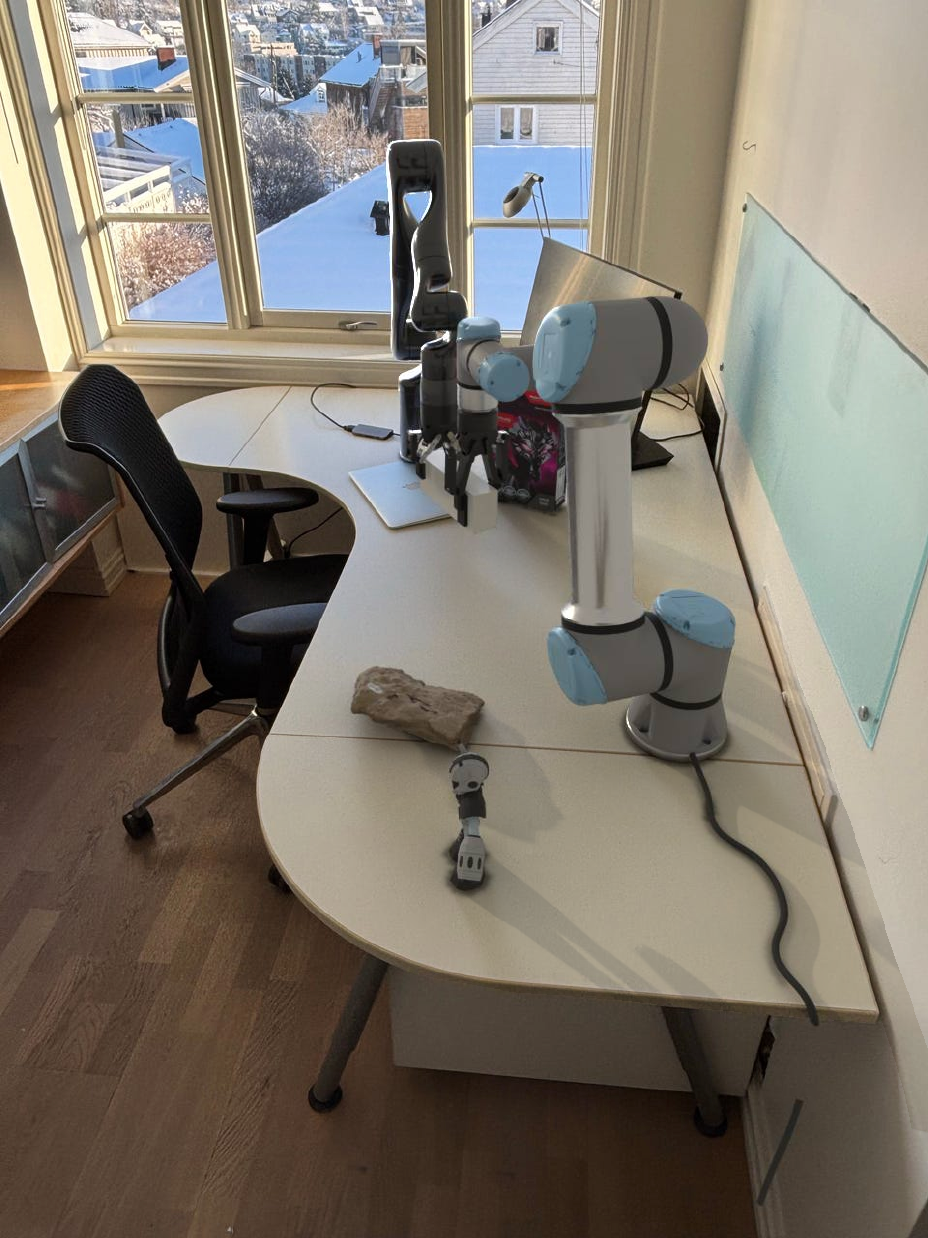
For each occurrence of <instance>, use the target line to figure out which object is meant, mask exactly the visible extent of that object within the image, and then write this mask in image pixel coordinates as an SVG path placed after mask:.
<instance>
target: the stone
mask: <svg viewBox="0 0 928 1238" xmlns="http://www.w3.org/2000/svg"><path fill="white" fill-rule="evenodd" d="M353 688H354V693H353V695H352V701H351V703H350V708H349V709H350V710H349V711H350V713H351V714H353V715H357V714H358V715H364V716H367V717H369V719H371V721H372V722H373V723H375V724H379V725H386V726H387V728H391V729H393V730H400V731H403V732H405V733H407V734H409V735H413V736H416V737H419V738H422V739H423V740H425V741H426V742H429V743H432V744H439V745H443V746H446V747H447V748H449V749H450V750H452V751H455V752H461V751H460V748H459V746H458V743H457V740H458V739H460V740H461V742H462V744H463V745H464V747H465V748H466V747H467V745H468V742H469V741H470V738H471V736H472V729H473V727H474V725H475V723H476V721H477V719H478V716H479V715H480V713H481V709H482V708H483V707H484V706H485V704H486V702H485V700H483V699H482V697H479V696H478V695H476V694H474V693H472V692H469V691H465V690H462V691H461V690H456V689H451V688H446V687H443V686H439V685H438V686H437V685H428V684H426V683H425V682H424V681H423V680H422V679H416V678H414V677H412V676H411V674H407V672H405V671H404V670H403V669H402V668H394V667H390V666H389V667H388V666H387V667H384V666H378V665H374V666H371V667H369V668H367V669H365V670H363V671H362V672H361V673H359V674H358V675H357V677H356V680H355V683H354V687H353Z"/></svg>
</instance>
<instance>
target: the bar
mask: <svg viewBox="0 0 928 1238" xmlns="http://www.w3.org/2000/svg"><path fill="white" fill-rule="evenodd" d="M425 463H426V479H424V480H422V479H420V478H419V491H421V492H422V493H423V494H424V495H425V496H427V497H428V498H429V499H430V500H431V501H432V502H433V503H434V504H436V505H437V506H438V507H440V508H441V509H442V511H444V512H445V513H447V514H448V516H450V517H451V518H452V519H454V520H455V521H456V522H457V510H456V509H455V508H454V495H453V496H452V495H450V494H449V493H448V492H447V491H445V490H444V478H445V453H444V450H443V448H439V449H438V450H435V451H432V453H431V454H429V455H428V457H427V458H426V460H425ZM458 465H459V461H457V469H458ZM465 494H466V495H467V496H468V525H467V527H464V529H466V530H467V531H468V532H469V533H470V534H472V535H476V534H477V535H478V534H480V533H484V532H487V531H492V530H495V529H497V523H498V521H497V520H498V500H497V494H498V491H497V490H496V489H495V488H494V487H492V486H491V485H490V484H488V481H485V480H484V479H483V478H481V477H480V476H479V475H478V474H476V473H475V472H474V471H472V470H471V469H470V473H469V477H468V481H467V485H466V489H465Z"/></svg>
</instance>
